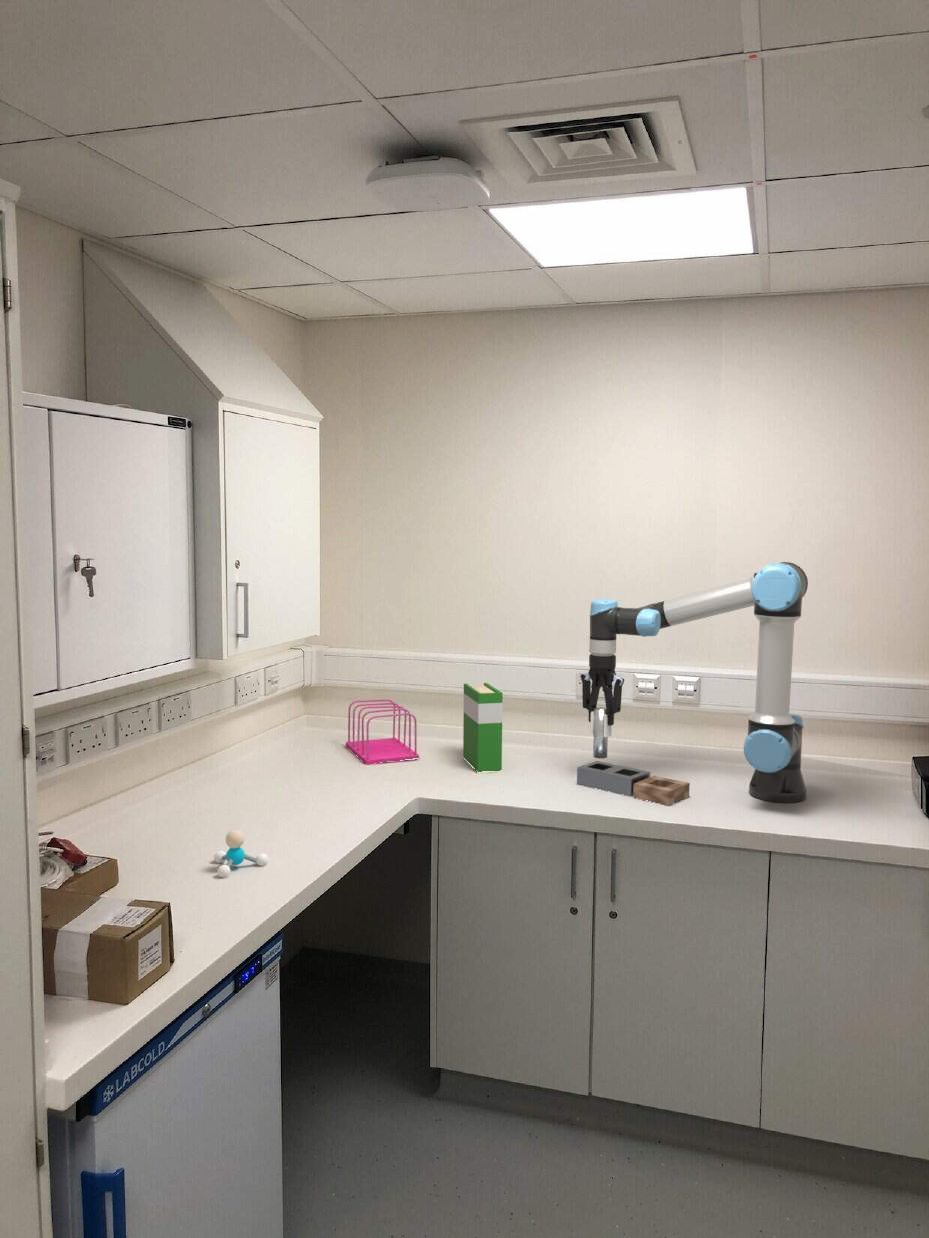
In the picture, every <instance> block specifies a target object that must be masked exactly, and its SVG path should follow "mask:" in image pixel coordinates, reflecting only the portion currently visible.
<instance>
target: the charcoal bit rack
mask: <svg viewBox="0 0 929 1238" xmlns="http://www.w3.org/2000/svg"><path fill="white" fill-rule="evenodd" d="M576 773H577V774H576V785H578V786H582V785H584V786H583V787H586V786H587V787H586V788H590V787H591V789H595V788H597V789H596V790H599V789H601V790H600V791H603V790H604V792H608V791H610V792H609V793H612V792H613V793H614V794H616V795H617V794H618V795H621V794H624V795H623V796H625V795H627V796H626V797H629V798H630V797H631V796H632V797H633V786H634V783H637V782H639V781H642V780H644V779H647V778H650V777H651V771H647V770H643V769H640V768H639V769H638V768H633V767H630V766H624V765H619V764H614V763H609V762H606V761H605V762H604V761H599V760H595V761H592V762H588V763H586V764H583V765H581V766H577V767H576ZM613 793H612V794H613ZM632 797H631V798H632Z"/></svg>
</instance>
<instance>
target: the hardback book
mask: <svg viewBox="0 0 929 1238" xmlns="http://www.w3.org/2000/svg"><path fill="white" fill-rule="evenodd" d="M503 695H504V694H503V691H502V692H501V690H499V689H498V688H495V687H494V686H492V685H491V684H489V682H483V684H482V685H469V684H468V683H463V722H462V723H463V725H462V726H463V729H462V730H463V732H462V733H463V736H462V739H463V741H462V742H463V743H462V744H463V745H462V749H463V750H462V758H463V757H464V758H465V759H466V760H467V761H468V762H469V763H470V764H471V765H472V766H473V767H474V768H475V769H476V770H477V771H478V772H482V771H500V770H502V769H503V765H502V764H503V763H502V762H503V702H504V701H503V699H504V698H503Z"/></svg>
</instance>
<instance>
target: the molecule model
mask: <svg viewBox="0 0 929 1238" xmlns="http://www.w3.org/2000/svg"><path fill="white" fill-rule="evenodd" d="M244 842H245V835H244V833H243V832H242V831H241V830H238V829H232V830H230V831H228V832H227V834H226V836H225V844H226V845H227V847H228V848H229V849H228V850H227V851H226V852H225V851H223V850H219V851H218V850H217V852H215V854H214V856H213V859H214V861H215V863H216V864H221V865H220V866H219V867H218V868H217V875H218V877H219V878H222V879H226V878H228V877H229V876H230V874H231V866H238V865H240V864H242V863H243V861H244V860H246V861H248V862H252V863H254V864H256V865H257V866H259V867H263V866H266V865H268V862H269V856H268V855H267V854H265V853H259V854H257V855H256V856H255V857H253V856H251V855H249V854H246V853H245V850H244V849H243V848H242V846H243V844H244ZM226 861H227V862H226ZM225 862H226V864H223V863H225Z"/></svg>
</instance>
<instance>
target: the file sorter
mask: <svg viewBox="0 0 929 1238" xmlns="http://www.w3.org/2000/svg"><path fill="white" fill-rule="evenodd" d="M372 702H374V703H372ZM378 702H379V703H378ZM355 703H361V704H357V705H356V706H355V707H354V708H353V710H352V741H351V708H352V706H353V705H354V704H355ZM359 707H361V709H360V710H359V711H358V715H357V716H358V717H357V740H356V739H355V727H356V726H355V723H356V722H355V720H356V719H355V715H356V710H357V709H358V708H359ZM386 708H387V709H386ZM366 709H376V710H369V711H368V710H367V711H366V712H364V714H363V715H362V717H361V713H362V711H364V710H366ZM396 711H397V712H398V713H396ZM401 711H403V713H401ZM384 712H386V713H387V712H393V714H382V715H380V714H379V715H373V716H371V717H369V718H368V720H367V722H366V740H365V738H364V737H365V735H364V733H365V732H364V729H365V728H364V727H365V725H364V722H365V716H367V715H368V714H371V713H372V714H373V713H374V714H375V713H384ZM347 715H348V716H347V717H348V720H347V722H348V723H347V725H348V726H347V729H348V730H347V732H348V735H347V736H348V737H347V741H346V742H345V748H346V747H347V749H348V750H349V749H350V750H351V751H352V752H353V753H354V754H355V755H357V756H358V757H357V759H359V758H360V759H361V760H362V761H363V762H364V763H365V764H372V765H375V764H374V763H380V762H387V761H400V760H405V759H413V758H419V759H420V753H417V748H418V747H417V738H418V736H417V734H418V732H417V731H418V730H417V728H418V727H417V718H416V716H415V715H414V714H413V713H411V711H410V710H408V709H407V708H404V706H402V705H399V704H398V703H396V702H394V701H393V700H391V699H366V700H354V701H352V702H351V703H350V704H349V706H348V714H347ZM401 716H404V723H403V724H404V725H403V729H404V730H403V742H402V741H401ZM407 716H408V745H406V738H407ZM388 717H393V725H392V737H387V738H376V739H370V738H369V735H370V734H369V733H370V732H369V731H370V729H369V725H370V722H371V721H372V720H373V719H376V718H388ZM396 717H398V733H397V734H398V735H397V737H396ZM412 718H413V720H414V750H413V749H412V745H411V744H412V736H411V735H412ZM360 725H361V726H360ZM360 727H361V732H360ZM360 733H361V740H360ZM350 750H349V751H350ZM351 751H350V752H351ZM352 752H351V753H352ZM353 753H352V754H353ZM354 754H353V755H354ZM355 755H354V756H355ZM360 759H359V760H360ZM361 760H360V761H361ZM362 761H361V762H362ZM363 762H362V763H363ZM364 763H363V764H364ZM365 764H364V765H365Z"/></svg>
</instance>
